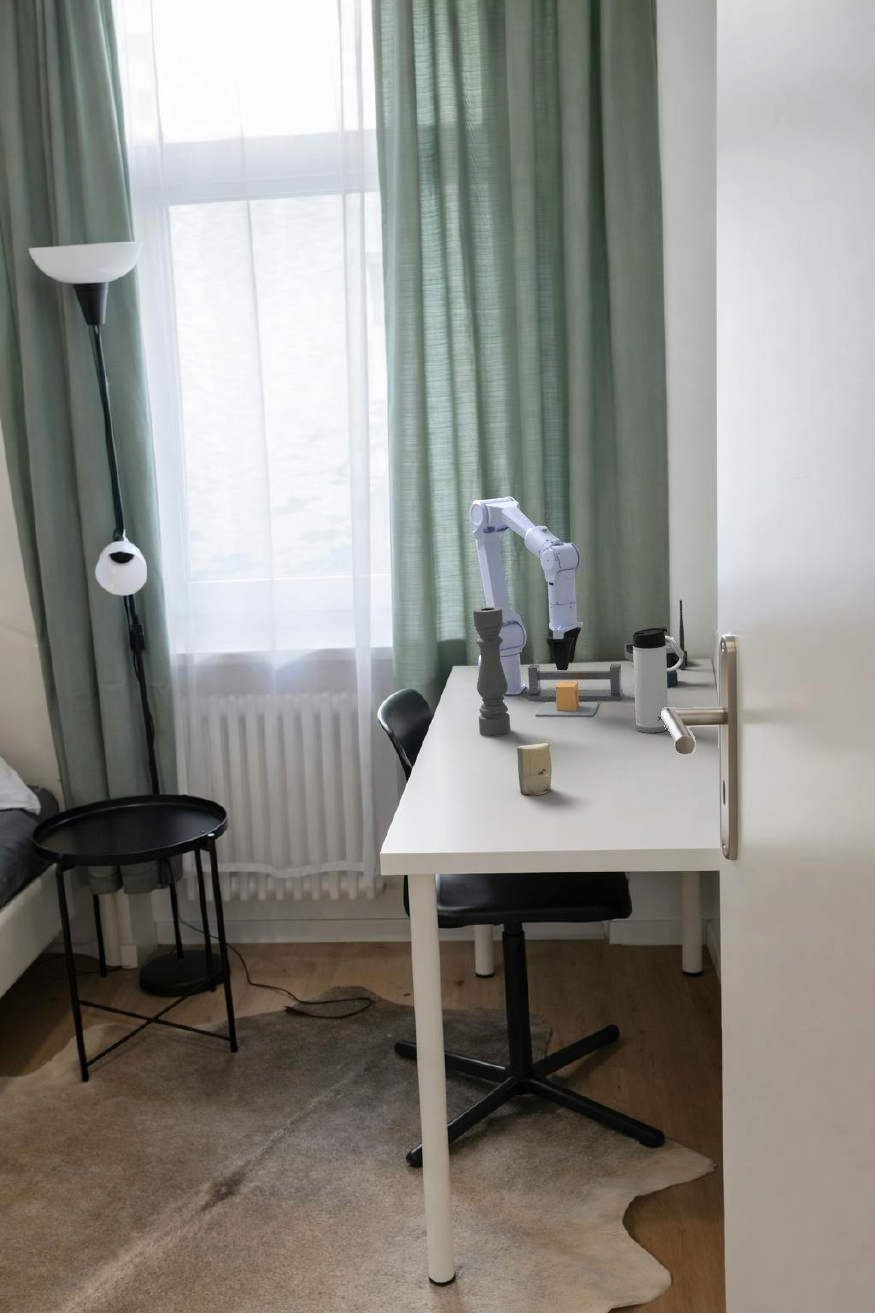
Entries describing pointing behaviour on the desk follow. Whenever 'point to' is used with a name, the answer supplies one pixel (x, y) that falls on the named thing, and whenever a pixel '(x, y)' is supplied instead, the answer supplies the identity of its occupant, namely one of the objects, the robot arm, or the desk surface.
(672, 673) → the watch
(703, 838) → the desk surface
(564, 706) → the clip
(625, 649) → the wifi router
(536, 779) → the beige tall block
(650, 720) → the travel mug
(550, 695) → the rail stand
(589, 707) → the mat
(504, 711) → the candle holder
